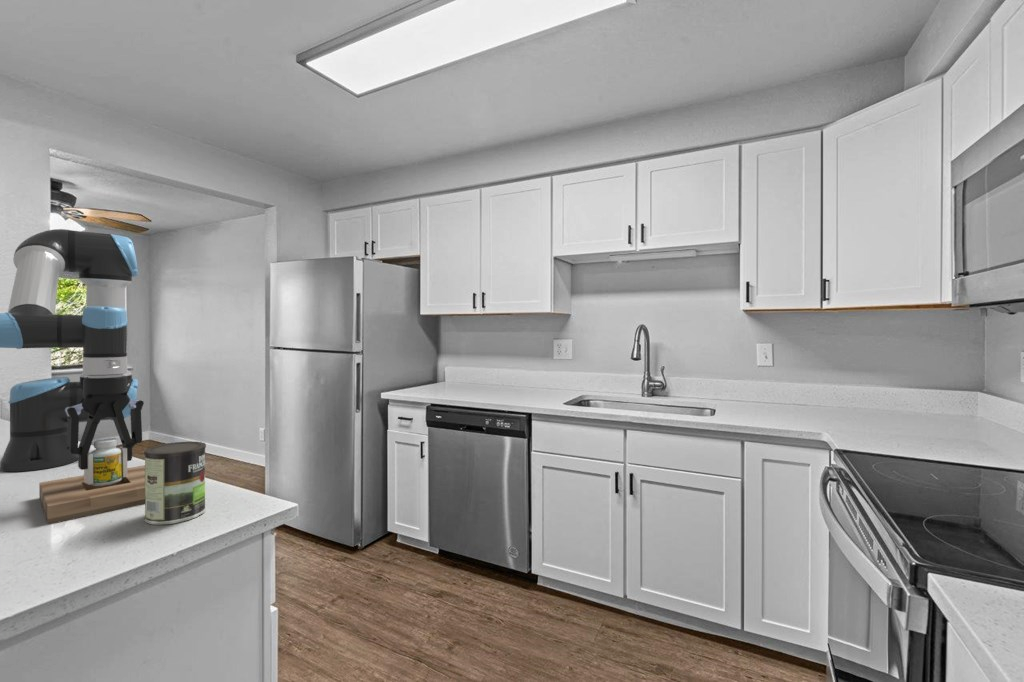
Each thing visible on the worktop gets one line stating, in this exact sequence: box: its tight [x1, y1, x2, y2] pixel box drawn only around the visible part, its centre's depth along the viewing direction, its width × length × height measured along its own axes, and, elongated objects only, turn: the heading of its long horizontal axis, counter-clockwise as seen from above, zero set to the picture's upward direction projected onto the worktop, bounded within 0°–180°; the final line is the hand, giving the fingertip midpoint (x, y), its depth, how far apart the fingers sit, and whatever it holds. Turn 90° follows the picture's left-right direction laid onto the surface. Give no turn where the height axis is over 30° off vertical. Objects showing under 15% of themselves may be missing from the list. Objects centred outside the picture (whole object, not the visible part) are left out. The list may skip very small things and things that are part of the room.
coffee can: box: [143, 441, 207, 526], centre depth 97 cm, size 10×10×14 cm
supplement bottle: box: [90, 437, 122, 486], centre depth 105 cm, size 5×5×10 cm
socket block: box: [38, 464, 145, 525], centre depth 106 cm, size 20×20×4 cm
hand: (106, 479), depth 106 cm, fingers closed on supplement bottle, 5 cm apart
